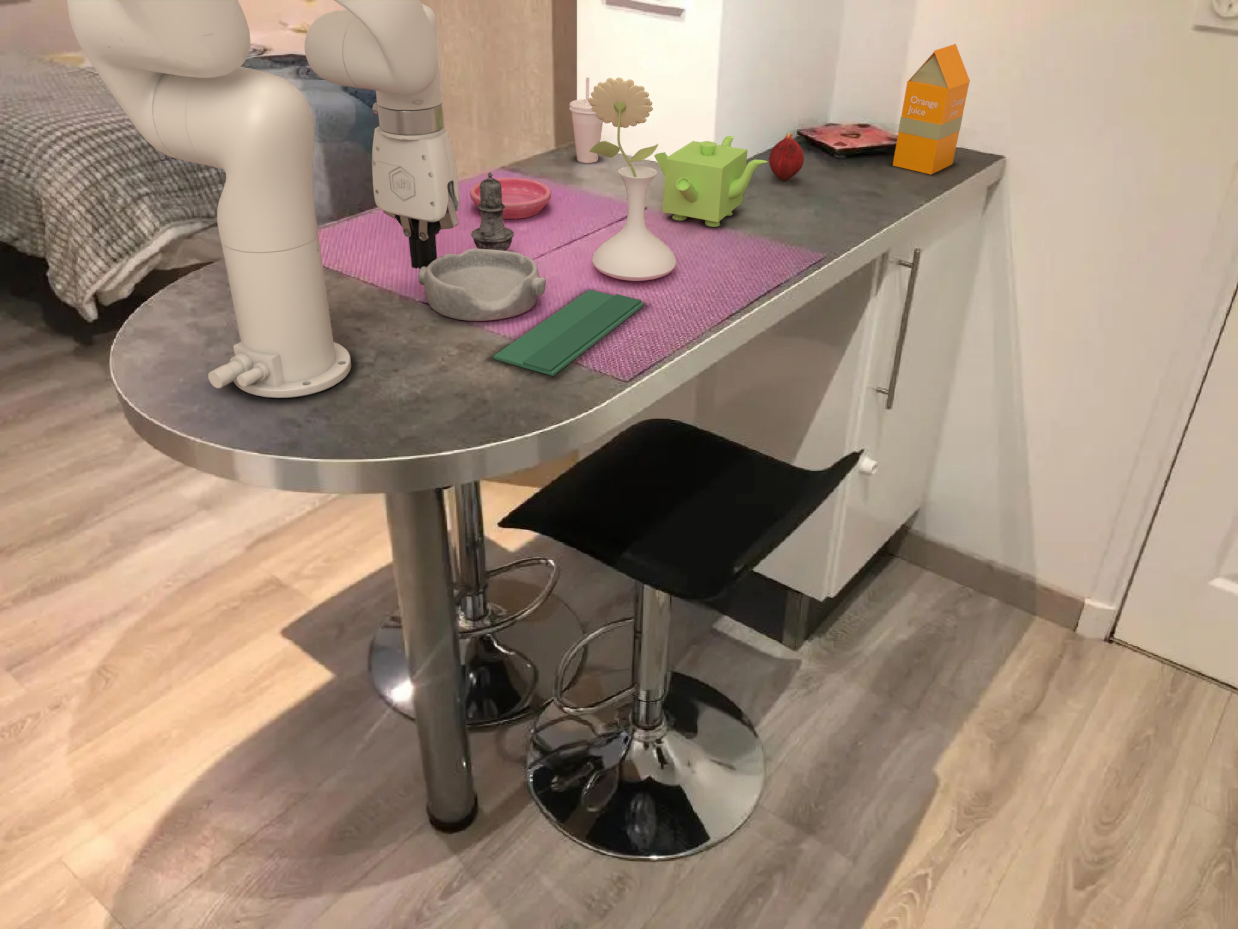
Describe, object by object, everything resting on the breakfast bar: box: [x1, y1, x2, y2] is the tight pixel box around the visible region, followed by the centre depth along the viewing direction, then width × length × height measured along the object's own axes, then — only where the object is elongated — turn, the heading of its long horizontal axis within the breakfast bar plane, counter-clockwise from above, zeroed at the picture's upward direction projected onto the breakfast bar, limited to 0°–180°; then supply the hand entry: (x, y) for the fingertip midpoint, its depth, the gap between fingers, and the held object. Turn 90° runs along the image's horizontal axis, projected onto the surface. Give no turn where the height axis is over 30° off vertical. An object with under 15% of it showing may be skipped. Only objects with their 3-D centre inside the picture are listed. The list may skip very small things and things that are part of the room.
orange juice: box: [892, 43, 971, 175], centre depth 178 cm, size 8×9×20 cm
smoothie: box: [568, 77, 604, 164], centre depth 177 cm, size 6×6×14 cm
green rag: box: [492, 289, 645, 377], centre depth 122 cm, size 22×8×1 cm, turn 152°
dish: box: [417, 248, 547, 322], centre depth 127 cm, size 14×14×5 cm
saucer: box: [469, 177, 552, 220], centre depth 157 cm, size 12×12×3 cm
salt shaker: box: [470, 172, 515, 251], centre depth 138 cm, size 6×6×12 cm
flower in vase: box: [588, 77, 677, 282], centre depth 132 cm, size 13×11×25 cm
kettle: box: [654, 135, 769, 227], centre depth 155 cm, size 15×14×11 cm
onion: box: [768, 132, 805, 182], centre depth 171 cm, size 6×6×8 cm
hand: (424, 265), depth 130 cm, fingers closed
